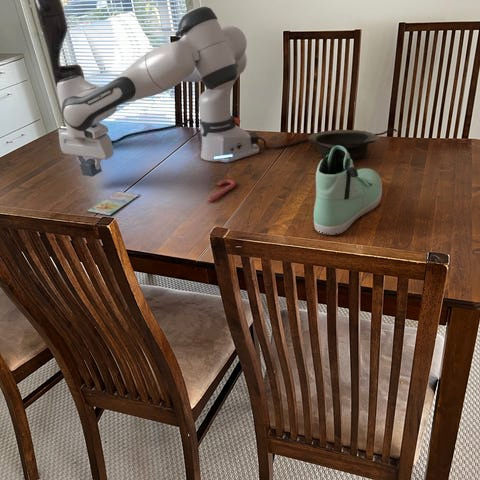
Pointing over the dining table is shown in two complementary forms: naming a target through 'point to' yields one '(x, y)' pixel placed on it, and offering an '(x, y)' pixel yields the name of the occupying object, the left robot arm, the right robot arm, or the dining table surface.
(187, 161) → the dining table surface
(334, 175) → the sneaker
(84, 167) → the block
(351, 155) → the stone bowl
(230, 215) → the dining table surface
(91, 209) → the baking ingredient package
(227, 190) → the candy cane
